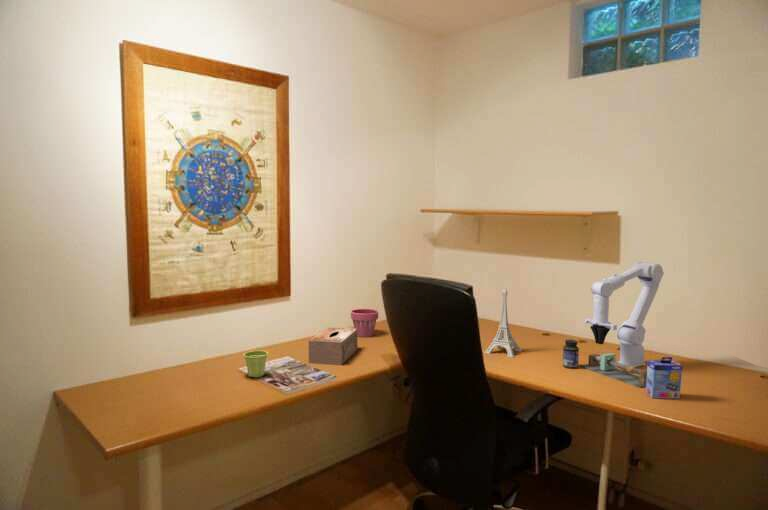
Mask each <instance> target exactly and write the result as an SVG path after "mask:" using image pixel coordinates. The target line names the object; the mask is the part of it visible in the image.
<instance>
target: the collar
mask: <svg viewBox="0 0 768 510" xmlns="http://www.w3.org/2000/svg"><path fill="white" fill-rule="evenodd" d="M600 357H601V362H600V363H601V364H600V369H601V370H604V371H605V370H611V369H615V368H616V367H614V366H611V365H608V364H607V359H609V360H612V361H615V362H616V357H617V356H616V353H613V352H610V353H603V354H600Z"/></svg>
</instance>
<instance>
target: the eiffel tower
mask: <svg viewBox="0 0 768 510" xmlns="http://www.w3.org/2000/svg"><path fill="white" fill-rule="evenodd" d="M501 295H502V301H501V303H502V304H501V305H502V306H501V312H500V313H501V314H500V319H499V320H500V321H499V325H498V329H497V333H496V335H495V337H494V338H492V342H491V344H489V346H488V348H487V349H486V350H485V351H484V354H489V355H491V354H492V351H493V349H500V348H499V347H500V346H502V347H504V348H505V350H506V352H507V355H506V357H508V358H515V356H516V355H515V354H514V352H517V351H518V353H521V352H522V351H523V350H522V348H521V347H520V346H519V345H518V343H517V342H516V340H515V338H514V337H513V335H512V333H511V330H510V325H509V320H508V308H507V306H508V305H507V304H508V303H507V297H508V290H507V288H506V287H503V290H502V293H501ZM513 348H514V351H513ZM490 353H491V354H490Z"/></svg>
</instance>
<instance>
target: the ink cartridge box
mask: <svg viewBox="0 0 768 510" xmlns="http://www.w3.org/2000/svg"><path fill="white" fill-rule="evenodd" d="M646 365H647V367H646V370H647V381H646V387H645V393H646V394H647V395H648V396H649V397H650V398H652V399H672V400H673V399H677V400H678V399H679V400H680V397H681V396H680V395H681V386H682V385H681V384H682V374H683V365H682V364H681V363H679V362H677V361H676V360H673V356H662V357H661V358H660V360H659V359H656V360H655V359H653V360H650V359H649V360H647V364H646Z"/></svg>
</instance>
